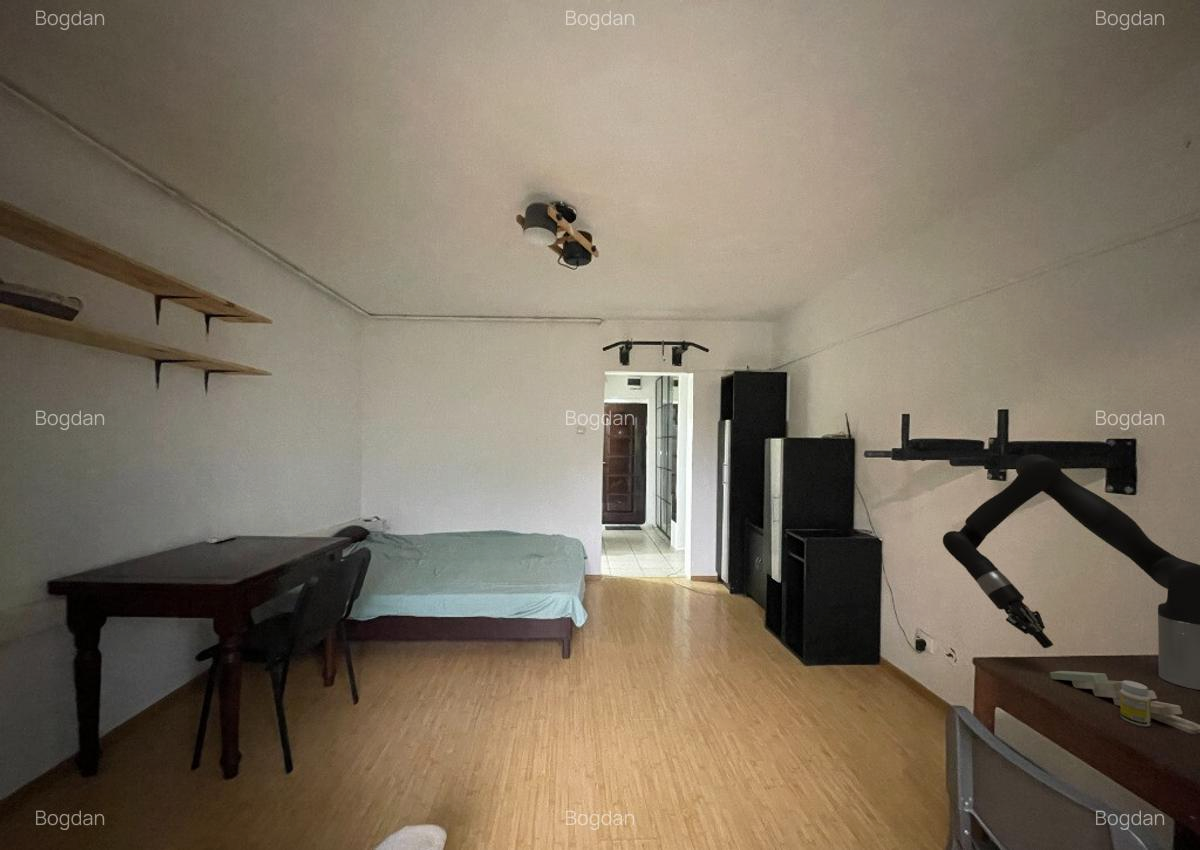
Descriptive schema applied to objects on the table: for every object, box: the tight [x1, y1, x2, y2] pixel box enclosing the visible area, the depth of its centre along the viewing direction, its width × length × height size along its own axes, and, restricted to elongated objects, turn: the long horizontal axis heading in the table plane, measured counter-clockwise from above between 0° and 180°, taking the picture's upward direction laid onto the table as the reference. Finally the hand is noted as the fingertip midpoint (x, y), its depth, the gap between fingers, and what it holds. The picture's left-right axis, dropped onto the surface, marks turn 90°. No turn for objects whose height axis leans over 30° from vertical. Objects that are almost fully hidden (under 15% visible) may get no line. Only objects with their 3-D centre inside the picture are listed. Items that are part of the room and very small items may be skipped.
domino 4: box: [1112, 698, 1183, 715], centre depth 115 cm, size 5×2×10 cm
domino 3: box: [1091, 689, 1158, 700], centre depth 120 cm, size 5×2×10 cm
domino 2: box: [1071, 680, 1123, 691], centre depth 124 cm, size 5×2×10 cm
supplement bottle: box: [1119, 680, 1152, 727], centre depth 112 cm, size 5×5×8 cm
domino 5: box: [1151, 713, 1200, 735], centre depth 113 cm, size 5×2×10 cm
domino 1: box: [1049, 670, 1109, 682], centre depth 129 cm, size 5×2×10 cm
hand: (1049, 646), depth 135 cm, fingers closed
